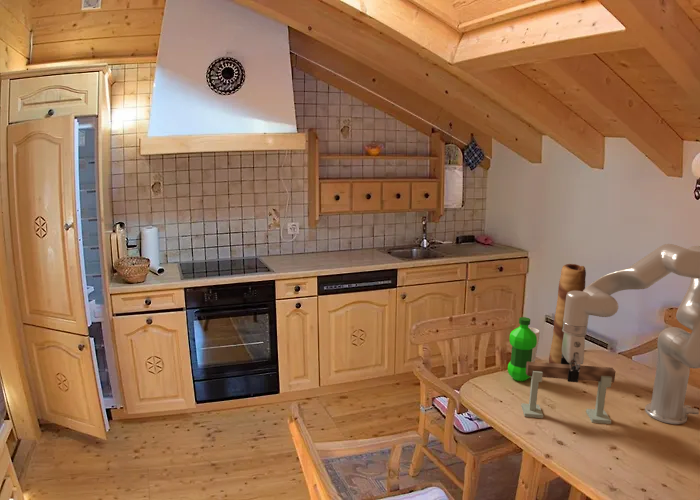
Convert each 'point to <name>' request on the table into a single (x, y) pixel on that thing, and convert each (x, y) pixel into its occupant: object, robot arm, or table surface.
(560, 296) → the wafer roll
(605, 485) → the table surface
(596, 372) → the walnut rail
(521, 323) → the plastic bottle
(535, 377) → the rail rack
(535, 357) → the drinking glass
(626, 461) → the table surface
